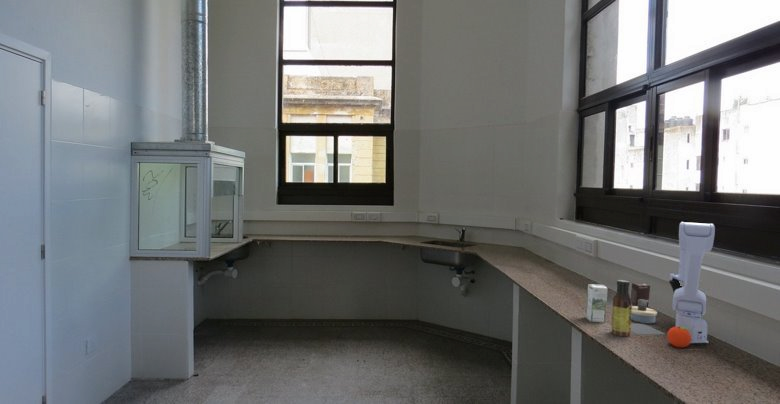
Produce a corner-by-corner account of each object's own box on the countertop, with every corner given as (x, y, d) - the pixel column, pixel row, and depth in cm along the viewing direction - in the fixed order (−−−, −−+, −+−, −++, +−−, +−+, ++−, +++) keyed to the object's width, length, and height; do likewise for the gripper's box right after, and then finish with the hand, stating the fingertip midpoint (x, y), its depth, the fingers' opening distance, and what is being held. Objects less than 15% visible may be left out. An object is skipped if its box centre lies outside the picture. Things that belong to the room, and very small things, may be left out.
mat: (666, 335, 164) (666, 333, 164) (637, 335, 162) (637, 334, 162) (642, 324, 176) (642, 323, 176) (615, 325, 174) (615, 324, 174)
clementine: (690, 345, 153) (692, 325, 153) (697, 352, 147) (698, 331, 147) (664, 342, 156) (665, 322, 156) (669, 348, 150) (670, 327, 149)
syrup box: (600, 319, 181) (602, 284, 180) (605, 323, 175) (607, 287, 174) (585, 318, 181) (587, 283, 181) (590, 322, 175) (592, 286, 175)
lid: (662, 316, 175) (663, 304, 175) (635, 315, 176) (635, 302, 176) (648, 309, 186) (649, 297, 186) (622, 307, 186) (623, 296, 186)
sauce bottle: (632, 338, 158) (636, 283, 158) (613, 336, 160) (617, 282, 159) (626, 332, 165) (630, 279, 164) (608, 330, 166) (612, 278, 165)
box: (636, 312, 193) (638, 285, 193) (629, 309, 198) (631, 282, 197) (648, 312, 194) (650, 285, 193) (641, 309, 198) (643, 282, 198)
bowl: (660, 324, 177) (660, 315, 177) (640, 324, 176) (640, 315, 176) (643, 317, 186) (644, 308, 186) (624, 317, 185) (625, 309, 184)
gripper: (712, 270, 167) (710, 306, 168) (681, 263, 181) (679, 296, 182) (696, 270, 166) (694, 306, 166) (666, 263, 180) (664, 296, 181)
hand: (685, 301), depth 174 cm, fingers open, 7 cm apart
